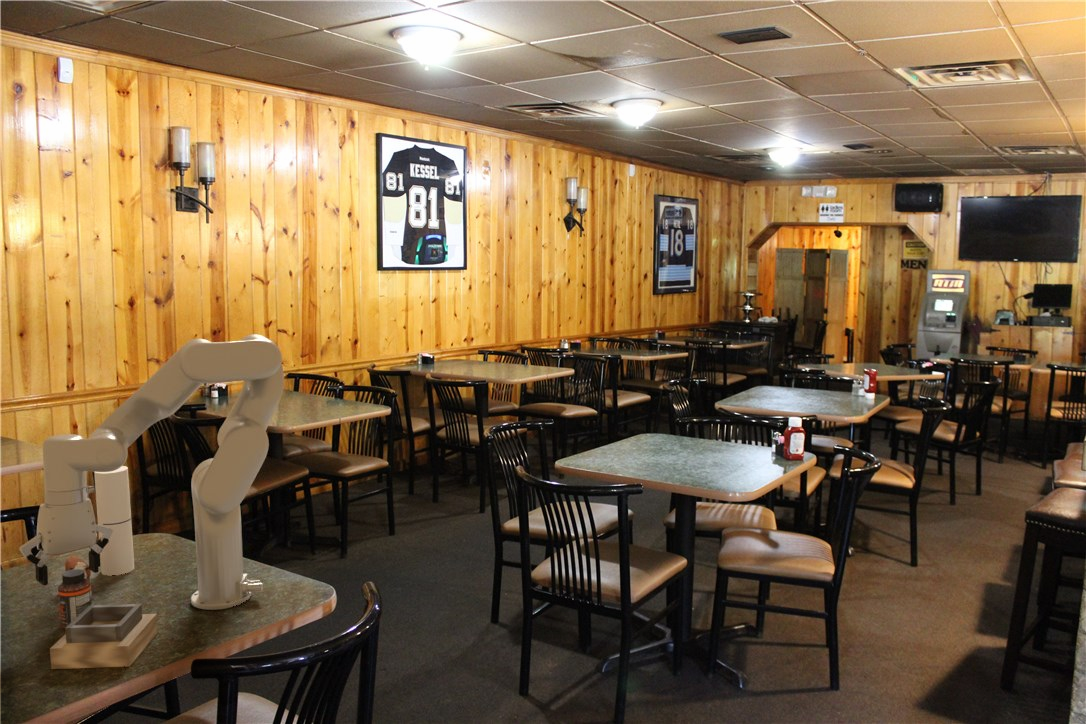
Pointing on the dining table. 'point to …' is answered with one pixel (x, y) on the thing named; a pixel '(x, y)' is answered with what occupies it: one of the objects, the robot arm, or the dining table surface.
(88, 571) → the bull figurine
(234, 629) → the dining table surface
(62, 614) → the supplement bottle
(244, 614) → the dining table surface
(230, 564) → the robot arm
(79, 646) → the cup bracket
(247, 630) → the dining table surface
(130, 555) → the cylindrical container
